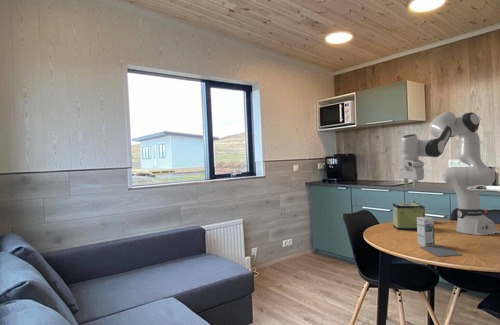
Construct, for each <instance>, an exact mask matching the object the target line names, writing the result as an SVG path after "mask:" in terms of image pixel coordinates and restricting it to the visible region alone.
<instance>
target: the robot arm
mask: <svg viewBox="0 0 500 325" xmlns="http://www.w3.org/2000/svg"><path fill="white" fill-rule="evenodd" d="M480 122H481V121H480V118H479V116H478V115H477V114H476V113H474V112H471V111H470V112H466V113H464V114H460V115H458V116H456V114H455V113H453V112H450V111H444V112H441V113H440V114H439V115H438V116H436V117H435V118H434V119H433V120H432V121H431V122H430V123H429V125H428V131H429V133H430V135H431V136H433V137H434V138H433V139H419V138H418V136H417V134H414V133H412V134H411V133H410V134H406V135H403V136H402V137H401V140H400V152H401V158H400V159H401V160H400V161H401V163H400V165H399V167H398V174H397V175H398V178H399V179H403V182H404V187H406V188H409V187H410V183H409V180H411V181H412V184H411V189H417V187H418V186H417V185H418V183H419V181H423V180H424V178H425V168H424V167H425V162H423V161H422V160H420V158H421V157H423V158H425V157H427V158H429V157H430V158H438V157H440V156H441V155H442V154H443V153H444V151H445V147H446V145H447V144H448V142H449V140H450V138H454V137H456V136H458V137H459V141H458V146H457V147H458V148H457V150H458V152H457V158H458V160H459V161H460V162H461V163H463V164H464V165H465V164H466V165H467V166H453V167H448V168H446V169H445V170H444V171H443V172H442V178H443V181H444V182H445V183H446V184H447V185H449V186H450V187H451V188H452V189H453V190H454V191H455V193H456V200H457V208H456V214H457V222H456V225H455V226H456V227H455V229H454V230H455V231H456V232H457V233H461V234H465V235H466V234H467V235H475V236H487V235H488V234H489V235H496V234H495V233H497V234H500V230H499V229H497V228H496V224H495V222H494V221H493V220H492V219H490V218H489V217H487V216H486V215H485V214H487V213H488V209H484V208H483V209H482V208H481V196H480V195H479V193H477V192H475V191H473V190H470V189H469V188H468V186H489V185H492V184H493V183H494V182H495V180H496V172H495V171H494V170H493V169H492V168H491V167H489V166H487V165H486V164H485V163H484V162H483V161H482V158H481V142H480V141H481V140H480V136H479V134H478V132H477V131H478V129H479V127H480Z"/></svg>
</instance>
